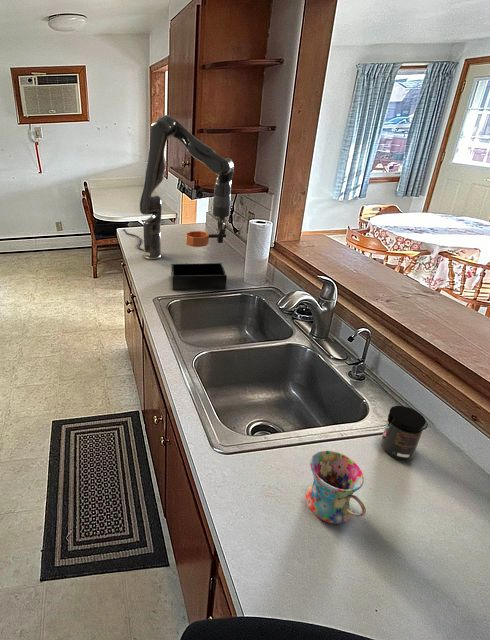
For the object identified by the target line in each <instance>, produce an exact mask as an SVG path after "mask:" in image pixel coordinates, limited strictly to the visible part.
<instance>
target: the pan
mask: <svg viewBox="0 0 490 640" xmlns="http://www.w3.org/2000/svg"><path fill="white" fill-rule="evenodd" d="M212 238H213V239H215V238H216V239H217V238H218V233H211V234H210V233H208V232H206V231H202V230H193V231H192V230H191V231H189V232H186V233H185V244H186V245H187V246H189V247H192V248H193V247H194V248H201V247H206V246H208V244H209V241H210V240H209V239H212ZM223 238H227V234H226V233H225V235H223Z"/></svg>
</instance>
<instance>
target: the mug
mask: <svg viewBox="0 0 490 640" xmlns="http://www.w3.org/2000/svg"><path fill="white" fill-rule="evenodd" d="M309 466H310V471H311V472H312V476H313V482H312V484H311V485H310V486H309V487H308V488H307V489H306V491H305V497H304V498H305V501H306V504H307V507H308V508H309V510H310V511H311V513H313V514H314V515H315V516H316V517H318V518H319V519H321V520H322V521H324V522H327V523H330V524H336V525H337V524H338V525H339V524H344V523H346V522H347V521H349V519H351V517H355V518H361V517H364V516H365V515H366V513H367V508H366V506H365V503H364V502H363V501H362V499H360V498H359V497H358V496H357V495H355V494H354V493H356V492H357V491H359V490H360V489H361V488H362V487H363V485H364V482H365V478H364V473H363V471H362V469H361V468H360V466H359V465H358V464H357V463H356V462H355V461H354V460H353V459H351V458H350V457H348V456H347V455H344V454H343V453H340V452H338V451H334V450H319V451H317V452H315V453H314V454H313V455H312V456H311V458H310V460H309ZM351 499H353V500H355V501H356V502H357V503H358V505H359V506H360V508H361V513H355V512H353V510H352V509H353V508H352V505H351V502H350V501H351Z"/></svg>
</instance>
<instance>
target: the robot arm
mask: <svg viewBox="0 0 490 640" xmlns="http://www.w3.org/2000/svg"><path fill="white" fill-rule="evenodd" d="M149 131H150V132H149V150H148V155H147V161H146V162H147V163H146V168H145V175H144V182H143V187H142V192H141V195H140V200H139V212H140V214H141V215H144V216H149V215H151V216H150V217H148V218H146V219H145V220H143V221H142V227H143V228H142V229H143V230H142V231H143V248H141V247H140V245H141V242H142V239H141V237H140V236H138V235H137V234H135V233H129V232H127V231H126V229H125V228H123V229H122V231H123V232H124V233H125V234H126V235H129V236H133V237H136V238H138V239H139V241H138V244H137V245H136V247H137V249H138V250H140V251H143V258H145V260H158V259H160V258H161V257H162V235H161V234H162V229H161V225H162V212H163V211H162V210H163V209H162V208H163V205H162V203H163V202H162V199H161V197H160V196H159V195H153V193H154V192H155V191H156V189H157V188H158V187H159V186H160V185H161V183H162V182H163V180H164V178H165V175H166V170H167V161H166V157H165V148H166V144H167V141H168V140H169V138H171V137H172V138H174V139H176V140H178V141H179V142H180V143H181V144H182V145H183V147H184V148H185V149H186V151H187V152H188V154H189V155H191V156H192V157H193V158H194V159H195V160H197V161H199V162H200V163H202V164H204V165H205V166H206V167H207V168H208V170H210V171H211V172H212V173H213V174H215V175H216V181H215V182H214V191H213V199H212V200H213V201H212V216H213V217H215V231H216V234H218V238H216V241H217V243H218V244H223V242H224V237H223V235H225V234H226V230H227V220H226V218H227V217H230V215H231V204H232V203H231V202H232V199H231V198H232V197H231V196H232V195H231V192H232V180H233V175H234V169H235V166H234V162H233V159H232V158H230V157H227V156H226V157H222V156H220V155H219V154H217V153H216V151H215V150H214V149H213V148H212V147H210V146H209V145H207V144H206V143H205V142H203V141H201V140H200V139H199V138H197V137H196V136H194V135H193V134H192V132H190V131H189V130H188V129H186V128H185V127H184V126H183V125H182V124H181V123H180V122H179V121H178V120H177V119H175V118H174V116H171V115H169V114H165V115H162V116H161V117H159V118H158V119H156V120H154V122H153V123H152V124H151V126H150V130H149Z"/></svg>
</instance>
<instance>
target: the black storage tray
mask: <svg viewBox="0 0 490 640" xmlns="http://www.w3.org/2000/svg"><path fill="white" fill-rule="evenodd" d="M170 265H171V266H170V278H171V288H172V291H200V290H202V291H207V290H208V291H210V290H211V291H212V290H218V291H219V290H227V273H226V271H225V268H224V265H223V263H222V262H211V263H210V262H208V263H206V262H205V263H204V262H203V263H171V264H170Z"/></svg>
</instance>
